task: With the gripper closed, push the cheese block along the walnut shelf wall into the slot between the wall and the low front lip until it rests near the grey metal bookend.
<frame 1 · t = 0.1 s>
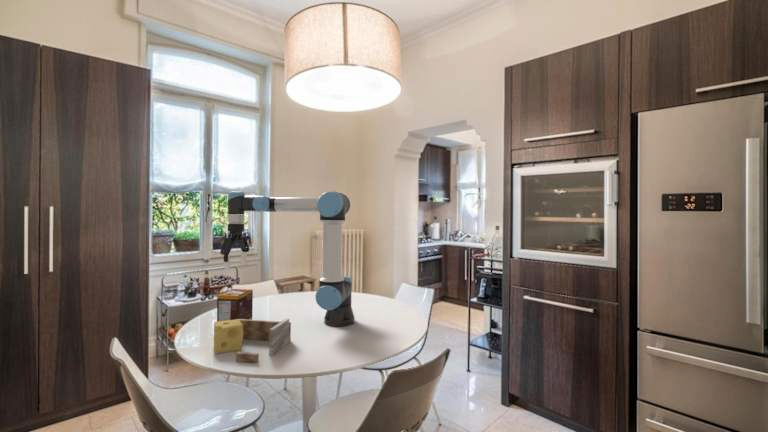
hand: (235, 266, 174), 28 cm above the table, fingers open, 13 cm apart
supplement box: (235, 324, 174), on the table
shelf: (262, 339, 153), on the table
cheese: (227, 348, 143), on the table
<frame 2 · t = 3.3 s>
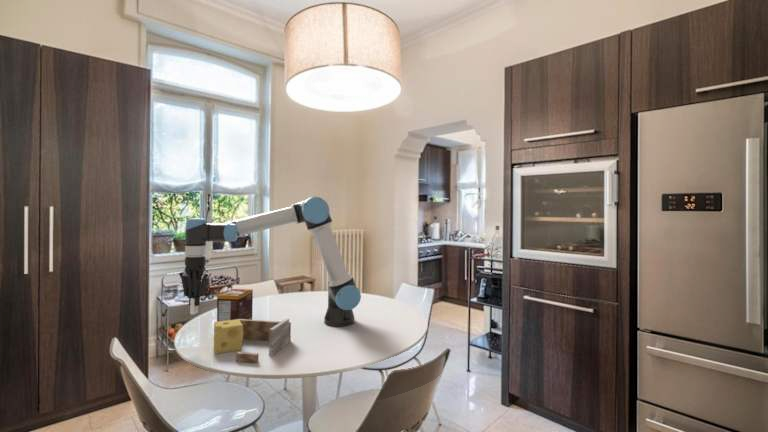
hand: (194, 313, 146), 13 cm above the table, fingers closed
nothing on the table moved.
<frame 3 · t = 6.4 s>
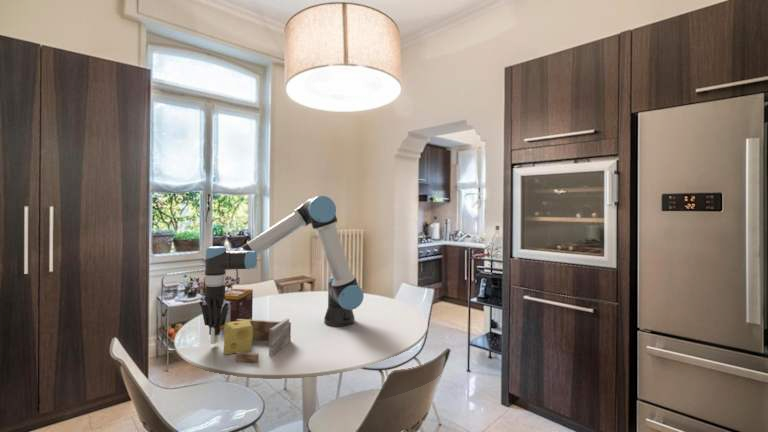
hand: (214, 342, 144), 1 cm above the table, fingers closed
cheese: (237, 349, 142), on the table, touching hand
everything else where it was.
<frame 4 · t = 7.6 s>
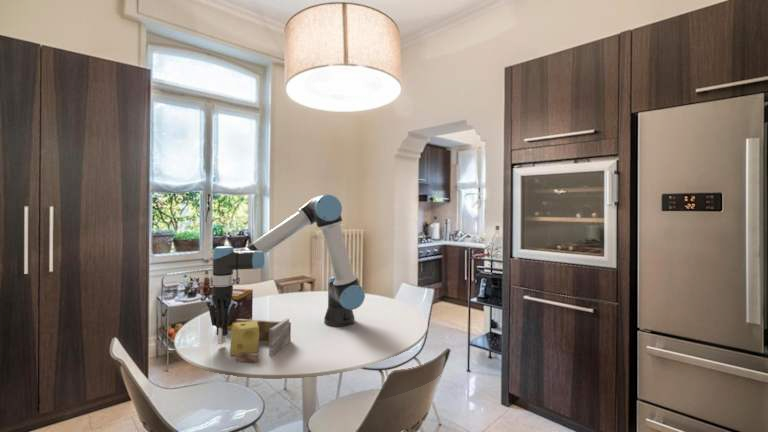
hand: (221, 343, 144), 1 cm above the table, fingers closed
cheese: (244, 350, 141), on the table, touching hand
everything else where it was.
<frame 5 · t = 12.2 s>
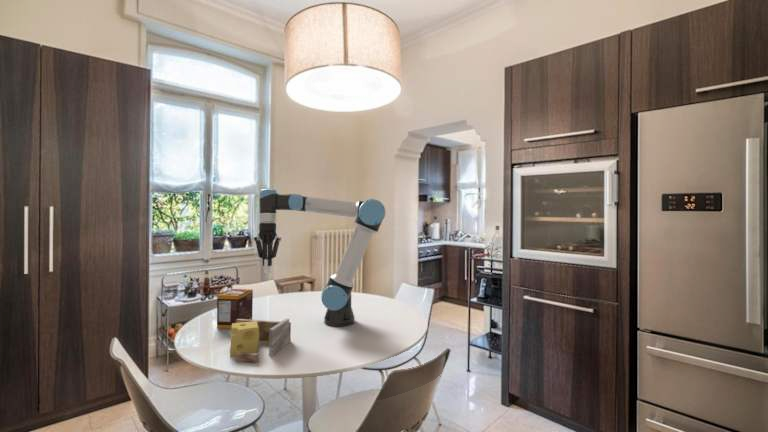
hand: (267, 272, 166), 26 cm above the table, fingers closed
cheese: (244, 350, 141), on the table
everything else where it was.
at the end: cheese inside the target area (1.0 cm from its centre), on the table; cheese tilted 0°; the gripper is holding nothing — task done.
